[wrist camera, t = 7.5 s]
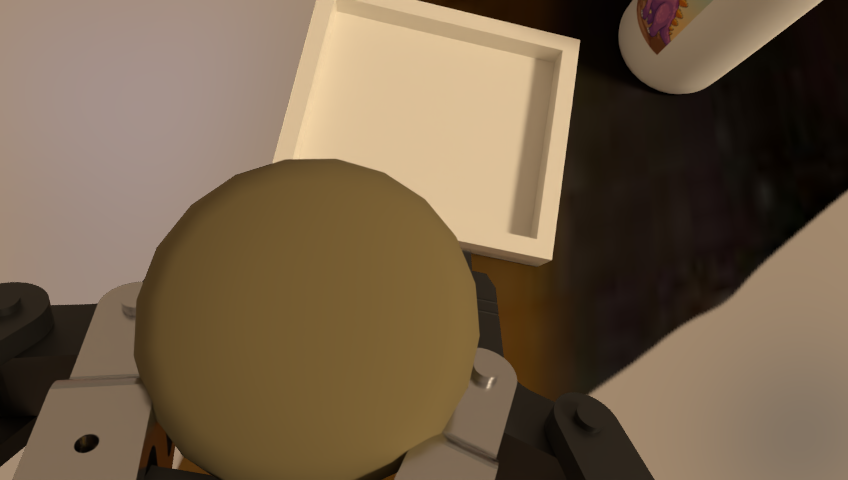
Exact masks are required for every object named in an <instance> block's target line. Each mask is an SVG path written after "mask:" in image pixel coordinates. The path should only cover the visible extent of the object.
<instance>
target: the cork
mask: <svg viewBox="0 0 848 480" xmlns="http://www.w3.org/2000/svg"><path fill="white" fill-rule="evenodd" d="M479 337H480V333H479V321H478V309H477V296H476V285H475V281H474V279H473V276H472V274H471V272H470V269H469V267H468V264H467V262H466V259H465V257H464V254H463V252H462V249H461V247H460V245H459V242H458V240H457V237H456V236H455V235H454V233H453V232H452V231H451V230H450V229H449V227H448V226H447V225H446V224H445V223H444V221H443V220H442V219H441V218H440V217H439V215H438V214H437V213H436V212H435V211H434V209H433V208H432V207H431V206H430V204H429V203H428V202H427V201H426V200H425V199H424V198H423V197H421V196H419V195H418V194H416V193H415V192H413V191H412V190H410V189H409V188H407V187H406V186H404V185H403V184H401V183H400V182H398V181H396V180H395V179H393V178H392V177H390V176H389V175H387V174H386V173H384V172H381V171H377V170H374V169H370V168H367V167H363V166H360V165H357V164H353V163H350V162H346V161H343V160H339V159H285V160H282V161H279V162H276V163H272V164H269V165H266V166H263V167H260V168H257V169H253V170H250V171H247V172H244V173H241V174H237V175H235V176H234V177H232V178H231V179H229V180H228V181H226V182H225V183H223V184H222V185H220V186H219V187H217V188H216V189H214V190H213V191H211V192H210V193H208V194H207V195H205V196H204V197H202V198H201V199H200V200H198V201H197V202H195V203H194V204H192V205H191V206H190V208H189V209H188V210H187V211H186V213H184V215H183V216H182V217H181V218H180V220H179V221H178V222H177V223H176V225H175V226H174V227H173V228H172V230H171V231H170V232H169V233H168V235H167V236H166V237H165V238H164V239H163V241H162V242H161V243H160V245H159V246H158V247H157V249H156V251H155V254H154V256H153V259H152V262H151V264H150V266H149V269H148V272H147V274H146V277H145V279H144V282H143V284H142V287H141V289H140V292H139V294H138V297H137V300H136V319H135V338H134V359H135V362H136V366H137V369H138V373H139V376H140V378H141V379H142V381H143V383H144V384H145V386H146V389H147V391H148V393H149V395H150V397H151V400H152V405H153V411H154V416H155V418H156V420H157V421H158V423H159V424H160V425H161V427H162V428H163V429H164V431H165V432H166V433H167V435H168V436H169V438H170V439H171V440H172V442H173V443H174V444H175V446H176V447H177V448H178V450H179V451H180V453H181V454H182V455H183V456H184V457H185V458H187V459H188V460H190V461H191V462H193V463H194V464H196V465H197V466H199V467H200V468H202V469H203V470H205V471H206V472H208V473H209V474H211V475H212V476H214V477H215V478H217V479H219V480H381V479H384V478H386V477H388V476H390V475H392V474H395V473H397V472H398V471H399V469H400V467H401V464H402V462H403V460H404V458H405V456H406V454H407V452H408V450H409V449H411V448H413V447H414V446H416V445H418V444H419V443H421V442H423V441H424V440H426V439H428V438H430V437H432V436H435V435H438V434H440V433H442V431H443V429H444V428H445V426H446V424H447V423H448V421H449V419H450V417H451V416H452V414H453V412H454V410H455V409H456V407H457V405H458V404H459V402H460V400H461V398H462V397H463V395H464V393H465V392H466V390H467V388H468V386H469V381H470V377H471V372H472V368H473V364H474V359H475V355H476V350H477V346H478V341H479Z"/></svg>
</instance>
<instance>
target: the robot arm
mask: <svg viewBox="0 0 848 480" xmlns="http://www.w3.org/2000/svg"><path fill="white" fill-rule="evenodd" d="M462 252H463V254H464V257H465V259H466V262H467V264H468V267H469V269H470V272H471V274H472V276H473V279H474V281H475V285H476V296H477V309H478V321H479V333H480V337H479V341H478V346H477V350H476V355H475V359H474V364H473V368H472V372H471V377H470V381H469V386H468V388H467V390H466V392H465V393H464V395H463V397H462V398H461V400H460V402H459V404H458V405H457V407H456V409H455V410H454V412H453V414H452V416H451V417H450V419H449V421H448V423H447V424H446V426H445V428H444V429H443V431H442V433H440V434H438V435H435V436H432V437H430V438H428V439H426V440H424V441H423V442H421V443H419V444H418V445H416V446H414V447H413V448H411V449H409V450H408V452H407V454H406V456H405V458H404V460H403V462H402V464H401V467H400V469H399V471H398V473H397V475H396V477H395V479H394V480H654V478H653V476H652V475H651V473H650V472H649V470H648V468H647V467H646V465H645V463H644V462H643V460H642V459H641V457H640V455H639V454H638V452H637V450H636V449H635V447H634V446H633V444H632V442H631V441H630V439H629V438H628V436H627V434H626V433H625V431H624V430H623V428H622V426H621V425H620V423H619V421H618V420H617V418H616V417H615V415H614V414H613V413H612V412H611V411H610V409H608V408H607V407H606V406H605V405H604V404H602V403H601V402H599V401H598V400H596V399H595V398H593V397H591V396H588V395H585V394H582V393H573V392H572V393H566V394H563V395H561V396H560V397H559V398H558V399H557V400H556V402H553V401H551V400H549V399H547V398H545V397H543V396H540V395H538V394H536V393H534V392H532V391H530V390H528V389H527V388H525V387H524V386H522V385H521V384H520V383H519V382H518V381H517V377H516V373H515V371H514V369H513V368H512V366H511V365H510V364H509V363H508V361H507V360H505V359H504V356H503V348H502V339H501V331H500V323H499V316H498V306H497V298H496V289H495V287H494V285H493V284H492V282H491V280H490V279H489V277H488V276H487V274H484V273H480V272H475V271H472V265H471V252H470V251H467V250H462ZM143 282H144V280H143V281H142V282H135V283H129V284H125V285H122V286H119V287H117V288H115V289H112V290H111V291H109V292H108V293H106V294H105V295H104V296H103V297H102V298H101V299H100V301H99V303H98V304H85V305H50V300H49V296H48V294H47V292H46V291H45V290H43V289H42V288H40V287H39V286H36V285H33V284H29V283H20V282H15V283H14V282H10V283H1V284H0V467H1V466H2V465H3V464H4V463H5V462H7V461H8V460H9V459H10V458H12V457H13V456H14V455H15V454H16V453H18V452H19V451H20V450H21V449H23V448H24V447H25V446H26V447H25V450H24V452H23V455H22V457H21V460H20V462H19V465H18V467H17V470H16V472H15V474H14V477H13V479H12V480H219V479H217V478H215V477H213V476H211V475H206V474H200V473H194V472H189V471H183V470H177V469H172V464H173V457H174V450H175V444H174V443H173V442H172V440H171V439H170V438H169V436H168V435H167V433H166V432H165V431H164V429H163V428H162V427H161V425H160V424H159V423H158V421H157V420H156V418H155V416H154V411H153V405H152V400H151V397H150V395H149V393H148V391H147V389H146V386H145V384H144V383H143V381H142V379H141V378H140V376H139V373H138V369H137V366H136V362H135V359H134V338H135V319H136V300H137V297H138V294H139V292H140V289H141V287H142V284H143Z"/></svg>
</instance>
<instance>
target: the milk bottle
mask: <svg viewBox="0 0 848 480" xmlns="http://www.w3.org/2000/svg"><path fill="white" fill-rule="evenodd" d="M821 1H822V0H632V2H631V3H630V5H629V6H628V7H627V9H626V10H625V12H624V14H623V16H622V18H621V22H620V26H619V34H618V38H619V47H620V50H621V54H622V57H623V59H624V61H625V63H626V65H627V66H628V67H629V69H630V70H631V71H632V73H633V74H634V75H635V76H636V77H637V78H638V79H639V80H640V81H642V82H644V83H645V84H646V85H648V86H649V87H652V88H654V89H656V90H658V91H661V92H665V93H669V94H685V93H693V92H697V91H700V90H702V89H704V88H706V87H708V86H709V85H711V84H712V83H713V82H715V81H716V80H718V79H719V78H721V77H722V76H723V75H725V74H726V73H727V72H729V71H730V70H731V69H733V68H734V67H735V66H737V65H738V64H739V63H741V62H742V61H743V60H745V59H746V58H747V57H749V56H750V55H751V54H753V53H754V52H755V51H757V50H758V49H759V48H761V47H762V46H763V45H765V44H766V43H767V42H769V41H770V40H771V39H773V38H774V37H775V36H777V35H778V34H779V33H781V32H782V31H783V30H784V29H786V28H787V27H788V26H790V25H791V24H792V23H794V22H795V21H796V20H798V19H799V18H800V17H801V16H803V15H804V14H805V13H807V12H808V11H809V10H811V9H812V8H813V7H815V6H816V5H817V4H818V3H820V2H821Z"/></svg>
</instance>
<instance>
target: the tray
mask: <svg viewBox="0 0 848 480" xmlns="http://www.w3.org/2000/svg"><path fill="white" fill-rule="evenodd" d="M579 46H580V40H578V39H574V38H570V37H566V36H562V35H558V34H554V33H550V32H545V31H541V30H537V29H533V28H529V27H525V26H521V25H517V24H512V23H508V22H504V21H500V20H496V19H492V18H488V17H484V16H479V15H475V14H471V13H467V12H463V11H459V10H455V9H451V8H447V7H442V6H438V5H434V4H430V3H426V2H422V1H418V0H316V3H315V6H314V10H313V14H312V17H311V21H310V25H309V28H308V32H307V36H306V39H305V43H304V47H303V51H302V54H301V58H300V62H299V66H298V69H297V73H296V77H295V80H294V84H293V88H292V91H291V95H290V99H289V102H288V106H287V110H286V113H285V117H284V121H283V125H282V128H281V132H280V136H279V140H278V143H277V147H276V150H275V154H274V158H273V162H272V163H276V162H279V161H282V160H285V159H339V160H343V161H346V162H350V163H353V164H357V165H360V166H363V167H367V168H370V169H374V170H377V171H381V172H384V173H386V174H387V175H389V176H390V177H392V178H393V179H395V180H396V181H398V182H400V183H401V184H403V185H404V186H406V187H407V188H409V189H410V190H412V191H413V192H415V193H416V194H418V195H419V196H421V197H423V198H424V199H425V200H426V201H427V202H428V203H429V204H430V206H431V207H432V208H433V209H434V211H435V212H436V213H437V214H438V215H439V217H440V218H441V219H442V220H443V221H444V223H445V224H446V225H447V226H448V227H449V229H450V230H451V231H452V232H453V233H454V235H455V236H456V237H457V240H458V242H459V245H460V247H461V249H462V250H467V251H470V252H471V253H473V254H478V255H483V256H488V257H493V258H498V259H502V260H507V261H512V262H517V263H522V264H527V265H531V266H536V267H538V266H540V265H542V264H544V263H547V262H549V261H551V260H552V254H553V247H554V239H555V231H556V223H557V216H558V208H559V200H560V193H561V185H562V177H563V169H564V162H565V154H566V146H567V139H568V131H569V123H570V115H571V108H572V100H573V92H574V85H575V77H576V69H577V61H578V54H579Z"/></svg>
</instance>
